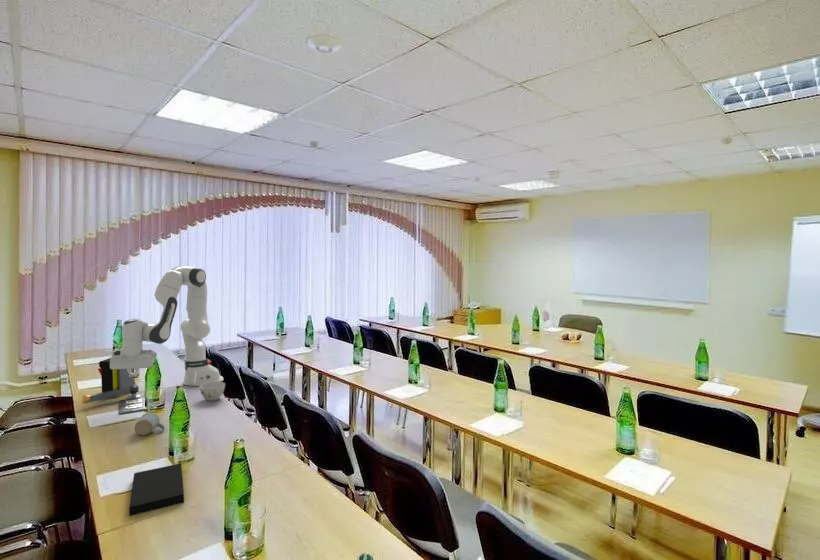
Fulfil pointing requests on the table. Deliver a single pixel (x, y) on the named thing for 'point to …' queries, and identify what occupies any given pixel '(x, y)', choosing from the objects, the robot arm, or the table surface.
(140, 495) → the external hard drive
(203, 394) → the teacup
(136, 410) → the plate
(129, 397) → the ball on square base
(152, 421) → the ceramic mug
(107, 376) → the electrical component
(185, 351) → the robot arm
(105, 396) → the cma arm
